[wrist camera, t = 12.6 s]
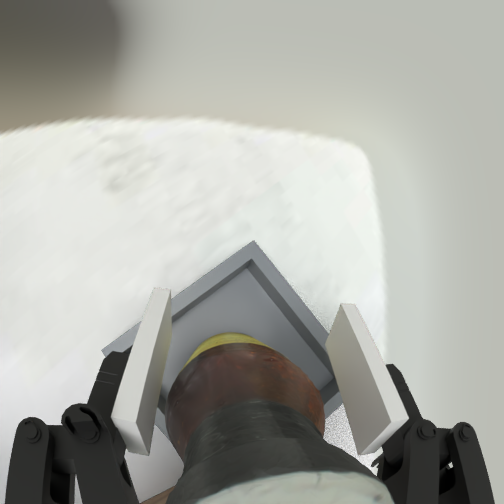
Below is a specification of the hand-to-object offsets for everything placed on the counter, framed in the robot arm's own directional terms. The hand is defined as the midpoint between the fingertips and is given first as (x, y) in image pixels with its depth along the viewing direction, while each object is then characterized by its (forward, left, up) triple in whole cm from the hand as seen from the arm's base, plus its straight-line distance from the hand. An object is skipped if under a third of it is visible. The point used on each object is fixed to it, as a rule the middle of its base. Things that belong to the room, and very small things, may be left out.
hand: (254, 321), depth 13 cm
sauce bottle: (+3, -2, -10) cm, 11 cm away
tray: (+3, -2, -11) cm, 12 cm away
